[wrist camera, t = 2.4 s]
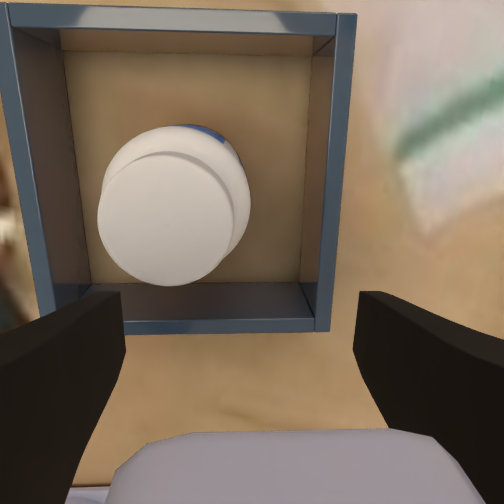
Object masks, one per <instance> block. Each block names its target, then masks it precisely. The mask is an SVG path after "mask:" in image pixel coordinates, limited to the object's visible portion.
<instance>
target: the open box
mask: <svg viewBox="0 0 504 504" xmlns="http://www.w3.org/2000/svg"><path fill="white" fill-rule="evenodd" d="M357 16H358V15H357V14H356V13H337V14H336V13H332V12H300V11H268V10H237V9H205V8H173V7H142V6H110V5H79V4H47V3H15V2H9V3H6V2H0V92H1V98H2V103H3V109H4V115H5V120H6V126H7V132H8V137H9V143H10V149H11V154H12V160H13V166H14V171H15V177H16V183H17V188H18V194H19V200H20V205H21V211H22V217H23V222H24V228H25V234H26V239H27V245H28V251H29V257H30V262H31V268H32V274H33V279H34V285H35V291H36V296H37V302H38V308H39V313H40V318H41V317H43V316H45V315H47V314H49V313H52V312H54V311H56V310H58V309H60V308H62V307H64V306H66V305H68V304H70V303H72V302H74V301H76V300H78V299H81V298H83V297H85V296H87V295H90V294H92V293H95V292H99V291H120V292H121V303H122V314H123V325H124V335H168V334H235V333H302V332H330V325H331V313H332V302H333V290H334V279H335V268H336V256H337V245H338V233H339V222H340V210H341V199H342V187H343V176H344V164H345V153H346V142H347V130H348V119H349V107H350V96H351V84H352V73H353V61H354V50H355V38H356V27H357ZM62 50H76V51H115V52H155V53H195V54H235V55H274V56H312V67H311V85H310V102H309V120H308V138H307V155H306V173H305V191H304V208H303V226H302V243H301V261H300V279H299V283H298V282H290V283H188V284H184V285H179V286H160V285H153V284H92V285H91V279H90V271H89V263H88V255H87V247H86V239H85V231H84V223H83V215H82V208H81V200H80V192H79V184H78V176H77V168H76V160H75V152H74V144H73V136H72V128H71V120H70V113H69V105H68V97H67V89H66V81H65V73H64V65H63V57H62Z"/></svg>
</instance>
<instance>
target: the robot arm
mask: <svg viewBox="0 0 504 504" xmlns="http://www.w3.org/2000/svg"><path fill="white" fill-rule="evenodd" d="M353 352H354V355H355V358H356V361H357V364H358V367H359V370H360V373H361V375H362V378H363V380H364V382H365V384H366V386H367V387H368V389H369V391H370V393H371V395H372V397H373V399H374V401H375V403H376V405H377V407H378V408H379V410H380V412H381V414H382V416H383V418H384V420H385V422H386V423H387V425H388V427H389V428H386V429H339V430H292V431H245V432H198V433H189V434H185V435H181V436H176V437H172V438H168V439H164V440H160V441H155V442H151V443H147V444H146V445H145V446H143V447H142V448H141V449H140V450H139V451H138V452H136V453H135V454H134V455H133V456H132V457H131V458H129V459H128V460H127V461H126V462H125V463H124V464H122V465H121V466H120V467H119V468H118V469H117V470H116V471H115V474H114V477H113V480H112V483H111V486H104V487H77V488H70V487H71V485H72V482H73V479H74V476H75V473H76V470H77V468H78V465H79V462H80V460H81V457H82V455H83V453H84V450H85V448H86V446H87V444H88V441H89V439H90V437H91V435H92V433H93V431H94V429H95V427H96V425H97V423H98V420H99V418H100V416H101V414H102V412H103V410H104V408H105V406H106V404H107V402H108V399H109V397H110V395H111V393H112V391H113V389H114V387H115V384H116V382H117V380H118V377H119V374H120V370H121V367H122V364H123V360H124V357H125V353H126V346H125V336H124V325H123V314H122V303H121V292H120V291H99V292H95V293H92V294H90V295H87V296H85V297H83V298H81V299H78V300H76V301H74V302H72V303H70V304H68V305H66V306H64V307H62V308H60V309H58V310H56V311H54V312H52V313H49V314H47V315H45V316H43V317H41V318H38V319H36V320H34V321H32V322H29V323H27V324H25V325H22V326H20V327H18V328H16V329H13V330H11V331H8V332H6V333H3V334H1V335H0V504H504V340H503V339H500V338H497V337H493V336H490V335H487V334H484V333H481V332H478V331H476V330H473V329H470V328H468V327H465V326H463V325H460V324H458V323H455V322H452V321H450V320H448V319H445V318H443V317H441V316H438V315H436V314H434V313H431V312H429V311H427V310H425V309H422V308H420V307H418V306H416V305H414V304H411V303H409V302H407V301H405V300H403V299H400V298H398V297H395V296H393V295H390V294H388V293H385V292H381V291H360V293H359V301H358V309H357V318H356V326H355V334H354V342H353Z"/></svg>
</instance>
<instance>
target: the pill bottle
mask: <svg viewBox="0 0 504 504" xmlns="http://www.w3.org/2000/svg"><path fill="white" fill-rule="evenodd" d="M250 208H251V200H250V191H249V186H248V181H247V178H246V175H245V172H244V170H243V167H242V164H241V161H240V158H239V156H238V154H237V153H236V151H235V150H234V148H233V147H232V146H231V144H230V143H229V142H228V141H227V140H226V139H225V138H224V137H223V136H221V135H220V134H219V133H217V132H215V131H213V130H211V129H209V128H206V127H203V126H199V125H175V126H166V127H160V128H156V129H152V130H149V131H146V132H144V133H142V134H140V135H138V136H136V137H134V138H133V139H131V140H130V141H128V142H127V143H126V144H125V145H124V146H123V147H122V148H121V149H120V150H119V151H118V152H117V153H116V155H115V156H114V157H113V159H112V160H111V162H110V164H109V166H108V168H107V170H106V173H105V176H104V179H103V184H102V192H101V198H100V201H99V206H98V213H97V224H98V230H99V234H100V238H101V241H102V243H103V245H104V247H105V249H106V251H107V253H108V254H109V255H110V257H111V258H112V259H113V261H114V262H115V263H116V264H117V265H118V266H119V267H120V268H121V269H123V270H124V271H126V272H127V273H128V274H129V275H131V276H133V277H135V278H136V279H138V280H141V281H143V282H146V283H150V284H153V285H160V286H179V285H184V284H188V283H191V282H194V281H196V280H199V279H201V278H202V277H204V276H206V275H207V274H209V273H210V272H211V271H212V270H213V269H214V268H216V267H217V265H218V264H219V263H220V262H221V261H222V259H223V258H225V257H226V256H227V255H228V254H229V253H230V252H231V251H232V250H233V249H234V248H235V247H236V245H237V244H238V243H239V241H240V239H241V238H242V236H243V234H244V232H245V230H246V227H247V224H248V221H249V216H250Z"/></svg>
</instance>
